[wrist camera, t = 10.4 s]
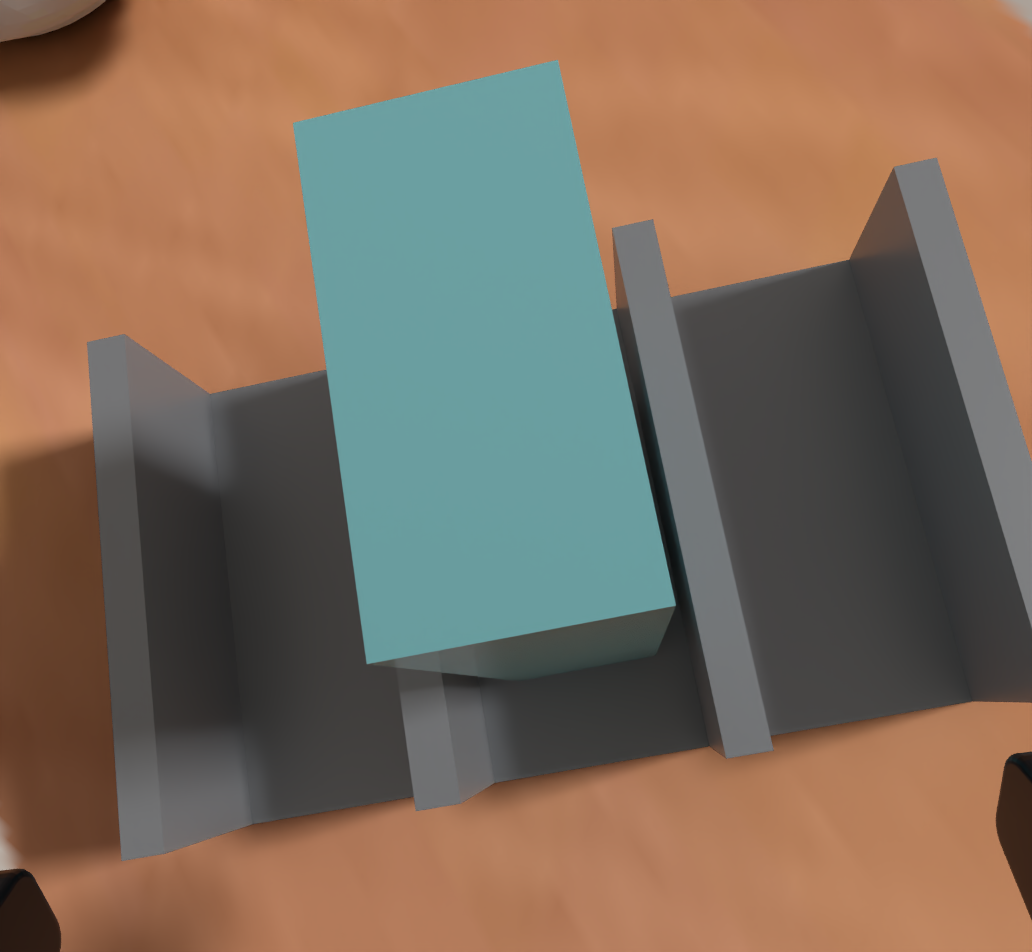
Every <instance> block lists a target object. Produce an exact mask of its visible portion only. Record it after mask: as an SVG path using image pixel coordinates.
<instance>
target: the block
mask: <svg viewBox="0 0 1032 952" xmlns="http://www.w3.org/2000/svg"><path fill="white" fill-rule="evenodd" d="M293 127H294V134H295V141H296V149H297V156H298V163H299V171H300V178H301V185H302V193H303V200H304V207H305V215H306V222H307V229H308V237H309V244H310V251H311V259H312V266H313V273H314V281H315V288H316V295H317V303H318V310H319V317H320V325H321V332H322V339H323V347H324V354H325V361H326V369H327V376H328V383H329V391H330V398H331V405H332V413H333V420H334V427H335V435H336V442H337V449H338V457H339V464H340V471H341V479H342V486H343V493H344V501H345V508H346V515H347V523H348V530H349V538H350V545H351V552H352V560H353V567H354V574H355V582H356V589H357V596H358V604H359V611H360V618H361V626H362V633H363V640H364V648H365V655H366V662H367V664H370V665H379V666H388V667H397V668H406V669H415V670H424V671H433V672H442V673H451V674H460V675H469V676H478V677H487V678H496V679H505V680H514V681H522V680H527V679H533V678H538V677H544V676H549V675H554V674H560V673H565V672H571V671H576V670H581V669H587V668H592V667H598V666H603V665H608V664H614V663H619V662H625V661H630V660H635V659H641V658H646V657H652V656H656V653H657V651H658V649H659V646H660V644H661V641H662V639H663V636H664V634H665V631H666V629H667V626H668V624H669V622H670V619H671V617H672V614H673V612H674V609H675V607H676V603H675V599H674V594H673V590H672V585H671V580H670V576H669V571H668V567H667V562H666V557H665V553H664V548H663V543H662V539H661V534H660V530H659V525H658V520H657V516H656V511H655V507H654V502H653V497H652V493H651V488H650V483H649V479H648V474H647V470H646V465H645V460H644V456H643V451H642V447H641V442H640V437H639V433H638V428H637V423H636V419H635V414H634V410H633V405H632V400H631V396H630V391H629V387H628V382H627V377H626V373H625V368H624V364H623V359H622V354H621V350H620V345H619V340H618V336H617V331H616V327H615V322H614V317H613V313H612V308H611V304H610V299H609V294H608V290H607V285H606V280H605V276H604V271H603V267H602V262H601V257H600V253H599V248H598V244H597V239H596V234H595V230H594V225H593V220H592V216H591V211H590V207H589V202H588V197H587V193H586V188H585V184H584V179H583V174H582V170H581V165H580V160H579V156H578V151H577V147H576V142H575V137H574V133H573V128H572V124H571V119H570V114H569V110H568V105H567V101H566V96H565V91H564V87H563V82H562V77H561V73H560V68H559V64H558V60H555V61H551V62H547V63H543V64H539V65H534V66H530V67H526V68H522V69H518V70H513V71H509V72H505V73H501V74H497V75H492V76H488V77H484V78H480V79H476V80H471V81H467V82H463V83H459V84H455V85H450V86H446V87H442V88H438V89H434V90H429V91H425V92H421V93H417V94H413V95H408V96H404V97H400V98H396V99H392V100H387V101H383V102H379V103H375V104H371V105H366V106H362V107H358V108H354V109H350V110H345V111H341V112H337V113H333V114H329V115H324V116H320V117H316V118H312V119H308V120H303V121H299V122H295V123H293Z"/></svg>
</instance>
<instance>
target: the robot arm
mask: <svg viewBox="0 0 1032 952" xmlns="http://www.w3.org/2000/svg"><path fill="white" fill-rule="evenodd" d="M996 828H997V834H998V837H999V841H1000V844H1001V846H1002V849H1003V851H1004V854H1005V856H1006V859H1007V861H1008V864H1009V866H1010V869H1011V871H1012V873H1013V876H1014V878H1015V881H1016V883H1017V886H1018V888H1019V891H1020V893H1021V895H1022V898H1023V900H1024V903H1025V905H1026V908H1027V910H1028V913H1029V915H1030V917H1031V920H1032V752H1025V753H1016V754H1013V755H1011V756H1010V757H1009V758H1008V759H1007V761H1006V763H1005V766H1004V771H1003V777H1002V783H1001V789H1000V795H999V800H998V806H997V812H996ZM60 948H61V931H60V927H59V923H58V921H57V919H56V917H55V915H54V913H53V911H52V909H51V908H50V906H49V904H48V902H47V900H46V898H45V897H44V895H43V893H42V891H41V889H40V887H39V886H38V884H37V882H36V880H35V878H34V877H33V875H32V874H31V873H30V872H28V871H26V870H25V869H11V870H3V871H0V952H60Z"/></svg>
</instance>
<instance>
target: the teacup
mask: <svg viewBox="0 0 1032 952" xmlns="http://www.w3.org/2000/svg"><path fill="white" fill-rule="evenodd" d="M105 1H106V0H0V42H3V41H8V40H12V39H19V38H24V37H30V36H36V35H41V34H45V33H48V32H51V31H54V30H57V29H60V28H62V27H64V26H67V25H69V24H72V23H73V22H75V21H77V20H79V19H80V18H82V17H84V16H85V15H87V14H89V13H91V12H92V11H93V10H95V9H96V8H97V7H99V6H100V5H101V4H103V3H104V2H105Z"/></svg>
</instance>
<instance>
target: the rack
mask: <svg viewBox="0 0 1032 952" xmlns="http://www.w3.org/2000/svg"><path fill="white" fill-rule="evenodd" d="M612 236H613V252H614V269H615V286H616V303H617V309H613V310H612V313H613V317H614V322H615V327H616V331H617V336H618V340H619V345H620V350H621V354H622V359H623V364H624V368H625V373H626V377H627V382H628V387H629V391H630V396H631V400H632V405H633V410H634V414H635V419H636V423H637V428H638V433H639V437H640V442H641V447H642V451H643V456H644V460H645V465H646V470H647V474H648V479H649V483H650V488H651V493H652V497H653V502H654V507H655V511H656V516H657V520H658V525H659V530H660V534H661V539H662V543H663V548H664V553H665V557H666V562H667V567H668V571H669V576H670V580H671V585H672V590H673V594H674V599H675V603H676V607H675V609H674V612H673V614H672V617H671V619H670V622H669V624H668V626H667V629H666V631H665V634H664V636H663V639H662V641H661V644H660V646H659V649H658V651H657V653H656V656H652V657H646V658H641V659H635V660H630V661H625V662H619V663H614V664H608V665H603V666H598V667H592V668H587V669H581V670H576V671H571V672H565V673H560V674H554V675H549V676H544V677H538V678H533V679H527V680H522V681H514V680H505V679H496V678H487V677H478V676H469V675H460V674H451V673H442V672H433V671H424V670H415V669H406V668H397V667H388V666H379V665H370V664H367V662H366V655H365V648H364V640H363V633H362V626H361V618H360V611H359V604H358V596H357V589H356V582H355V574H354V567H353V560H352V552H351V545H350V538H349V530H348V523H347V515H346V508H345V501H344V493H343V486H342V479H341V471H340V464H339V457H338V449H337V442H336V435H335V427H334V420H333V413H332V405H331V398H330V391H329V383H328V376H327V370H323V371H318V372H313V373H308V374H304V375H299V376H294V377H289V378H284V379H280V380H275V381H270V382H265V383H261V384H256V385H251V386H246V387H242V388H237V389H232V390H227V391H223V392H218V393H213V394H209V393H208V392H206V391H205V390H204V389H202V388H201V387H199V386H198V385H196V384H195V383H194V382H192V381H191V380H189V379H188V378H186V377H185V376H183V375H182V374H181V373H179V372H178V371H176V370H175V369H173V368H172V367H171V366H169V365H168V364H166V363H165V362H163V361H162V360H161V359H159V358H158V357H156V356H155V355H153V354H152V353H151V352H149V351H148V350H146V349H145V348H143V347H142V346H141V345H139V344H138V343H136V342H135V341H133V340H132V339H131V338H129V337H128V336H126V335H125V334H123V335H118V336H114V337H109V338H104V339H100V340H95V341H91V342H87V348H88V363H89V378H90V393H91V408H92V423H93V438H94V453H95V468H96V483H97V498H98V513H99V528H100V543H101V558H102V573H103V588H104V603H105V618H106V633H107V648H108V664H109V679H110V694H111V709H112V724H113V739H114V754H115V769H116V784H117V799H118V814H119V829H120V844H121V859H122V861H125V860H131V859H136V858H142V857H148V856H154V855H160V854H165V853H168V852H171V851H174V850H177V849H180V848H183V847H186V846H189V845H192V844H195V843H198V842H201V841H204V840H207V839H210V838H213V837H216V836H219V835H222V834H225V833H228V832H231V831H234V830H237V829H240V828H243V827H246V826H249V825H252V824H257V823H263V822H268V821H274V820H280V819H286V818H292V817H298V816H304V815H309V814H315V813H321V812H327V811H333V810H339V809H345V808H350V807H356V806H362V805H368V804H374V803H380V802H386V801H391V800H397V799H403V798H409V797H414V801H415V809H416V811H420V810H426V809H432V808H437V807H443V806H449V805H455V804H461V803H462V802H464V801H466V800H467V799H469V798H471V797H472V796H474V795H476V794H477V793H479V792H481V791H482V790H484V789H485V788H487V787H489V786H490V785H492V784H494V783H497V782H503V781H509V780H514V779H520V778H526V777H532V776H538V775H544V774H550V773H555V772H561V771H567V770H573V769H579V768H585V767H591V766H596V765H602V764H608V763H614V762H620V761H626V760H632V759H637V758H643V757H649V756H655V755H661V754H667V753H673V752H678V751H684V750H690V749H696V748H702V747H708V746H710V747H711V748H713V749H714V750H715V751H717V752H718V753H719V754H721V755H722V756H723V757H725V758H726V759H727V758H732V757H738V756H744V755H750V754H756V753H762V752H768V751H774V750H773V745H772V741H771V736H772V735H778V734H784V733H790V732H796V731H801V730H807V729H813V728H819V727H825V726H831V725H836V724H842V723H848V722H854V721H860V720H866V719H872V718H877V717H883V716H889V715H895V714H901V713H907V712H913V711H918V710H924V709H930V708H936V707H942V706H948V705H954V704H959V703H965V702H971V701H982V702H1031V703H1032V461H1031V458H1030V455H1029V452H1028V448H1027V445H1026V442H1025V439H1024V435H1023V432H1022V429H1021V426H1020V423H1019V419H1018V416H1017V413H1016V410H1015V407H1014V403H1013V400H1012V397H1011V394H1010V391H1009V387H1008V384H1007V381H1006V378H1005V375H1004V371H1003V368H1002V365H1001V362H1000V359H999V355H998V352H997V349H996V346H995V343H994V339H993V336H992V333H991V330H990V327H989V323H988V320H987V317H986V314H985V311H984V307H983V304H982V301H981V298H980V295H979V291H978V288H977V285H976V282H975V279H974V275H973V272H972V269H971V266H970V263H969V259H968V256H967V253H966V250H965V247H964V243H963V240H962V237H961V234H960V231H959V227H958V224H957V221H956V218H955V215H954V211H953V208H952V205H951V202H950V199H949V195H948V192H947V189H946V186H945V183H944V179H943V176H942V173H941V170H940V166H939V163H938V160H937V158H933V159H928V160H924V161H919V162H914V163H910V164H905V165H901V166H896V167H894V168H893V170H892V172H891V174H890V176H889V178H888V180H887V182H886V184H885V186H884V188H883V190H882V193H881V195H880V197H879V199H878V201H877V203H876V205H875V207H874V209H873V211H872V213H871V215H870V217H869V220H868V222H867V224H866V226H865V228H864V230H863V232H862V234H861V236H860V238H859V240H858V242H857V244H856V247H855V249H854V251H853V253H852V255H851V257H850V259H849V260H846V261H841V262H836V263H832V264H827V265H822V266H817V267H813V268H808V269H803V270H798V271H794V272H789V273H784V274H779V275H775V276H770V277H765V278H760V279H755V280H751V281H746V282H741V283H736V284H732V285H727V286H722V287H717V288H713V289H708V290H703V291H698V292H694V293H689V294H684V295H679V296H675V297H670V292H669V288H668V283H667V279H666V275H665V270H664V266H663V261H662V257H661V253H660V248H659V244H658V239H657V235H656V231H655V226H654V222H653V219H652V220H648V221H643V222H638V223H634V224H629V225H625V226H620V227H615V228H612Z"/></svg>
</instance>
